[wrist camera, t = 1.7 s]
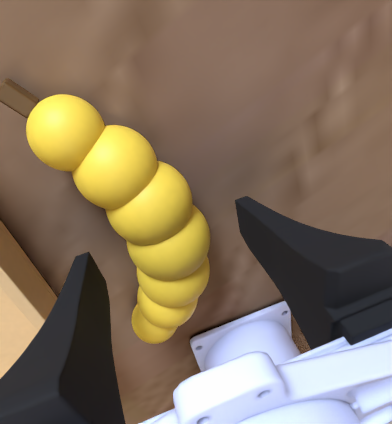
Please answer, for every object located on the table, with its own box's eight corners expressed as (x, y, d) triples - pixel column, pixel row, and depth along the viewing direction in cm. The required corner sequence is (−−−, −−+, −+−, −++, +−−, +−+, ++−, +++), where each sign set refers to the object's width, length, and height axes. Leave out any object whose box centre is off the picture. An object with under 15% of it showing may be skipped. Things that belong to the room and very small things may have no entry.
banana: (218, 292, 22) (241, 342, 19) (133, 325, 21) (143, 383, 18) (152, 33, 12) (178, 47, 9) (-4, 77, 12) (-34, 108, 9)
